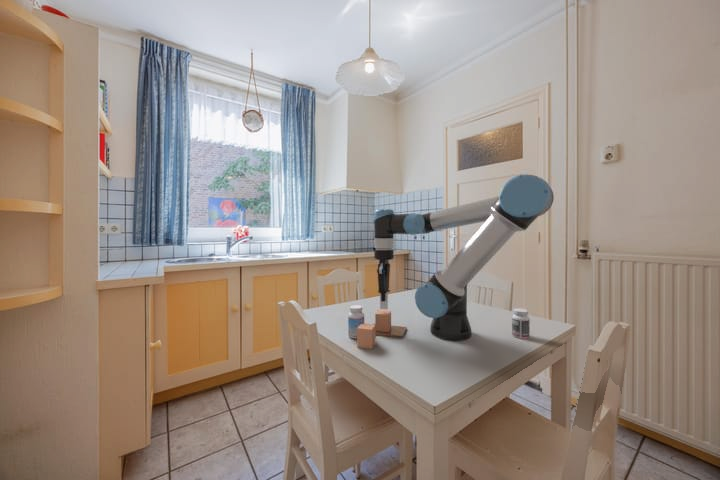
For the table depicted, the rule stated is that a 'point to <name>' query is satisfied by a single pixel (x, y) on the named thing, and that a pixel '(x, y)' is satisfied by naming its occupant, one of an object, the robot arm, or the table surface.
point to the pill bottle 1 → (355, 320)
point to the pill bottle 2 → (520, 324)
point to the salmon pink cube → (383, 320)
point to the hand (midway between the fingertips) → (383, 308)
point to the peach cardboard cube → (366, 336)
